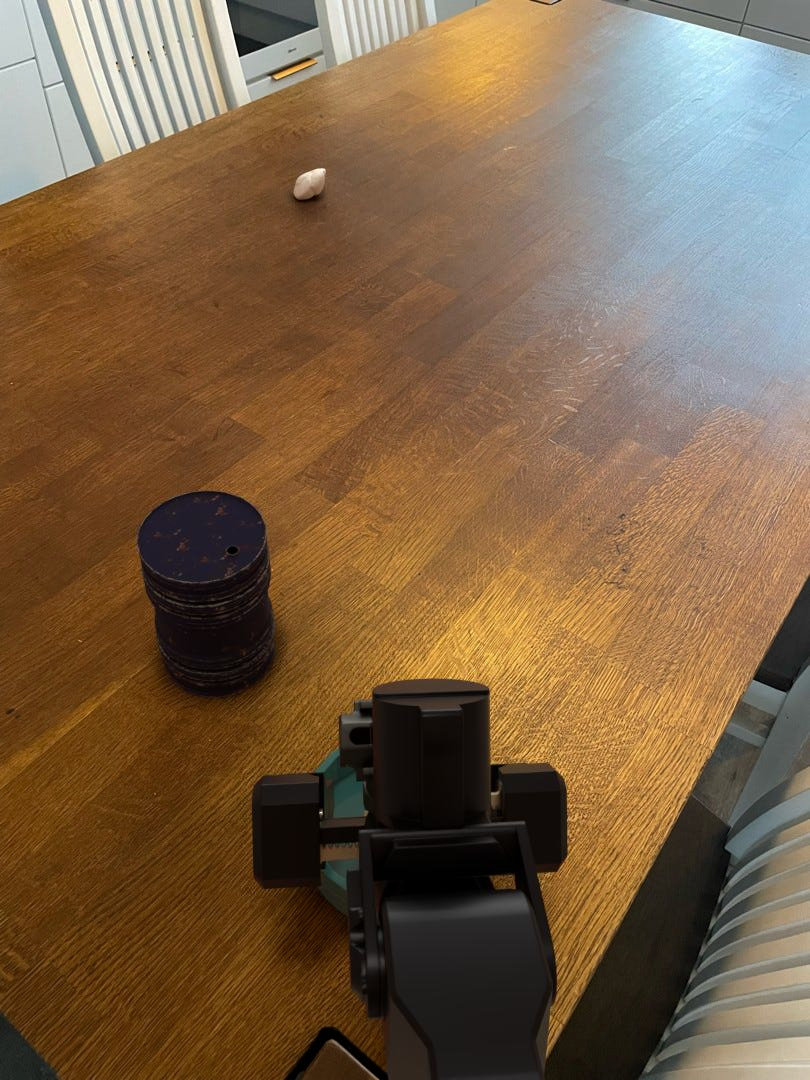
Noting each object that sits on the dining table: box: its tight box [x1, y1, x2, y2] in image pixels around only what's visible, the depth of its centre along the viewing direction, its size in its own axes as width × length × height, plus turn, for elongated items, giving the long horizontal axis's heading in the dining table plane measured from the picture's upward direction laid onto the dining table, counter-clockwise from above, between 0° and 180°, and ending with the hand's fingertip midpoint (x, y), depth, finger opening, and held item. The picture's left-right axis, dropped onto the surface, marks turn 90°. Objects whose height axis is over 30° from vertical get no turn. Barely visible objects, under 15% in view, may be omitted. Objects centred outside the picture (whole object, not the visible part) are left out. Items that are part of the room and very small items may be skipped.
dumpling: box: [293, 168, 327, 200], centre depth 137 cm, size 7×5×4 cm
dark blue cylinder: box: [136, 489, 276, 699], centre depth 73 cm, size 10×10×15 cm
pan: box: [313, 747, 379, 925], centre depth 66 cm, size 13×13×4 cm
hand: (397, 782), depth 62 cm, fingers open, 9 cm apart
